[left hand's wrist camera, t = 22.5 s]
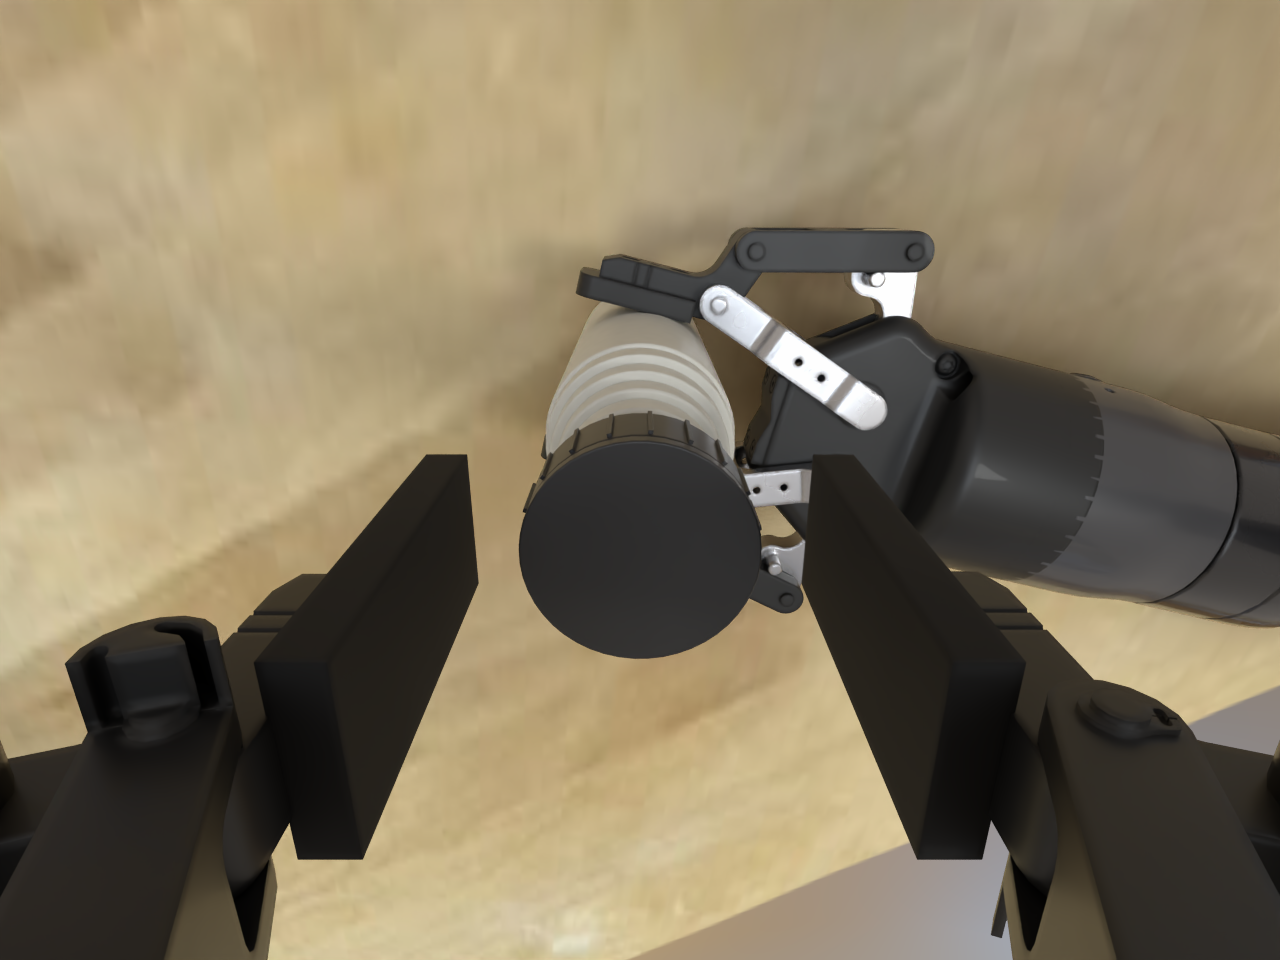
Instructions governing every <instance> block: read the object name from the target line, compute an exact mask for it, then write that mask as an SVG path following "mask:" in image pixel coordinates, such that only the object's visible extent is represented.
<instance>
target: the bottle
mask: <svg viewBox="0 0 1280 960" xmlns="http://www.w3.org/2000/svg"><path fill="white" fill-rule="evenodd" d="M648 411H652V414H659V415H664V416H668V417H672V418H676V419H679V420H681V421H685V419H686V420H689V421H690V424H691V425H693V426H695V427H696V428H698V429H700V430H702V431H703V432H705V433H706V434H708V435H709V436H710V437H712V438H713V439H714V440H715V441H716V440H717V439H719V440H720V441H721V444H722V447H723V449H724V450H725V451H726V452H727V453H728V455H729V456H730V457H731V459H732V460H733V459H734V450H735V424H734V418H733V413H732V409H731V406H730V403H729V400H728V398H727V396H726V393H725V391H724V389H723V386H722V384H721V382H720V380H719V377H718V375H717V373H716V370H715V368H714V366H713V364H712V361H711V359H710V357H709V354H708V352H707V350H706V348H705V345H704V343H703V341H702V338H701V336H700V334H699V332H698V329H697V327H696V325H695V323H694V320H693V318H692V319H691V323H690V324H689V323H685V322H681V321H677V320H673V319H669V318H666V317H663V316H660V315H655V314H650V313H645V312H641V311H637V310H633V309H629V308H626V307H622V306H618V305H614V304H610V303H606V302H602V301H601V302H600V303H599V304H598V305H597V306H596V307H595V308H594V310H593V311H592V312H591V314H590V316H589V317H588V319H587V322H586V324H585V326H584V328H583V331H582V333H581V335H580V338H579V340H578V342H577V344H576V347H575V349H574V351H573V354H572V356H571V358H570V360H569V363H568V365H567V367H566V370H565V372H564V374H563V377H562V379H561V381H560V383H559V386H558V388H557V390H556V393H555V395H554V397H553V399H552V402H551V405H550V408H549V412H548V415H547V422H546V454H547V456H548V454H549V453H550V452H551V453H552V454H553V453H554V452H555V450H556V449H557V448H558V447H559V446H560V445H561V444H562V443H563V442H564V441H565V440H567V439H568V438H569V437H570V436H572V435H573V434H574V430H575V429H577V428H579V430H581V429H582V428H584V427H586V426H588V425H589V424H592V423H594V422H597V421H599V420H602V419H605V418H608V417H609V414H614V416H616V415H622V414H630V413H648Z"/></svg>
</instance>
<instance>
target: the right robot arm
mask: <svg viewBox="0 0 1280 960" xmlns="http://www.w3.org/2000/svg"><path fill="white" fill-rule="evenodd" d="M934 251H935V250H934V243H933V241H932V239H931V238H930V236H929V235H927V234H926V233H924V232H920V231H912V230H903V229H895V228H741V229H739V230H737V231H736V232H734V233H733V234H732V236H731V237H730V239H729V242H728V245H727V246H726V248H725V249H724V251H723V252H722V254H721V255H720V257H719V258H718V259H717V261H716V262H715V264H714V265H713V266H712V267H710V268H709V269H707V270H705V271H703V272H698V273H693V272H688V271H684V270H681V269H677V268H673V267H669V266H665V265H661V264H657V263H654V262H649V261H646V260H642V259H638V258H634V257H630V256H627V255H623V254H618V255H611V256H605V257H604V258H603V260H602V265H601V269H600V270H597V269H593V268H587V267H583V268H582V270H581V271H580V275H579V280H578V285H577V289H576V294H578V295H580V296H583V297H586V298H590V299H594V300H598V301H602V302H606V303H610V304H614V305H618V306H622V307H626V308H629V309H633V310H637V311H641V312H645V313H650V314H655V315H660V316H663V317H666V318H669V319H673V320H677V321H681V322H685V323H689V324H690V323H691V319H692V317H696V318H700V319H704V320H707V321H708V322H709V323H711V324H712V325H713V326H715V327H716V328H718V329H719V330H721V331H722V332H724V333H725V334H726V335H728V336H729V337H731V338H732V339H734V340H735V341H736V342H738V343H739V344H741V345H742V346H744V347H745V348H746V349H748V350H749V351H751V352H752V353H753V354H754V355H755V356H757V357H758V358H759V359H760V360H762V361H763V362H764V363H766V364H767V365H768V366H767V369H766V372H765V376H764V379H763V382H762V399H761V406H760V408H759V410H758V411H757V413H756V415H755V416H754V418H753V419H752V421H751V423H750V424H749V427H748V430H747V433H746V436H745V439H744V441H742V442H735V450H734V459H733V461H734V463H735V465H736V467H737V468H739V467H741V469H742V471H743V474H744V476H745V479H746V482H747V484H748V487H749V490H750V493H751V495H749V498H750V500H752V503H753V506H754V507H762V506H772V505H775V506H776V508H777V509H778V510H779V511H780V512H781V514H782V515H783V516H784V517H785V518H786V519H787V521H788V522H789V523H790V524H791V525H792V527H793V528H794V529H795V530H796V532H795V533H793V534H792V535H790V536H787V537H776V536H773V535H764V536H761V543H762V555H761V565H760V570H759V575H758V578H757V581H756V584H755V586H754V589H753V591H752V593H751V595H750V597H749V598H750V599H752V600H754V601H756V602H758V603H760V604H762V605H765V606H767V607H769V608H771V609H773V610H775V611H777V612H780V613H791V612H794V611H796V610H797V609H798V608H799V607H800V606H801V605H802V603H803V593H802V591H801V588H800V585H801V583H802V572H803V560H804V549H805V538H806V527H807V516H808V505H809V494H810V482H811V471H812V460H813V455H854V456H855V457H856V458H857V459H858V460H859V462H860V463H861V464H862V465H863V466H864V468H865V469H866V470H867V471H868V472H869V474H870V475H871V476H872V477H873V479H874V480H875V481H876V482H877V483H878V485H879V486H880V487H881V488H882V489H883V491H884V492H885V493H886V494H887V495H888V497H889V498H890V499H891V500H892V501H893V503H894V504H895V505H896V506H897V507H898V509H899V510H900V511H901V512H902V513H903V515H904V516H905V517H906V518H907V519H908V521H909V522H910V523H911V524H912V525H913V527H914V528H915V529H916V530H917V531H918V533H919V534H920V535H921V536H922V537H923V539H924V540H925V541H926V542H927V543H928V545H929V546H930V547H931V548H932V549H933V551H934V552H935V553H936V554H937V555H938V557H939V558H940V559H941V560H942V561H943V563H944V564H945V565H946V566H947V567H948V568H953V569H957V570H961V571H966V572H980V573H982V574H983V575H985V576H988V577H992V578H996V579H1001V580H1005V581H1009V582H1014V583H1018V584H1023V585H1027V586H1031V587H1036V588H1040V589H1045V590H1049V591H1053V592H1058V593H1063V594H1069V595H1074V596H1080V597H1090V598H1104V599H1115V600H1123V601H1129V602H1134V603H1137V604H1141V605H1146V606H1150V607H1154V608H1159V609H1163V610H1168V611H1172V612H1176V613H1181V614H1185V615H1189V616H1194V617H1197V618H1202V619H1206V620H1210V621H1215V622H1219V623H1224V624H1229V625H1234V626H1241V627H1250V628H1275V627H1280V435H1276V434H1272V433H1267V432H1262V431H1258V430H1253V429H1250V428H1246V427H1242V426H1238V425H1234V424H1230V423H1226V422H1222V421H1218V420H1214V419H1211V418H1207V417H1203V416H1199V415H1196V414H1193V413H1190V412H1187V411H1184V410H1181V409H1178V408H1176V407H1173V406H1171V405H1169V404H1166V403H1164V402H1162V401H1160V400H1157V399H1155V398H1153V397H1150V396H1148V395H1145V394H1142V393H1139V392H1136V391H1133V390H1130V389H1126V388H1122V387H1118V386H1114V385H1111V384H1107V383H1103V382H1102V381H1101V380H1098V379H1096V378H1095V377H1092V376H1089V375H1084V374H1077V373H1070V374H1068V373H1064V372H1060V371H1057V370H1053V369H1049V368H1045V367H1041V366H1037V365H1033V364H1029V363H1025V362H1021V361H1017V360H1014V359H1010V358H1006V357H1002V356H998V355H994V354H990V353H987V352H983V351H979V350H975V349H971V348H967V347H963V346H959V345H956V344H952V343H948V342H944V341H940V340H937V339H935V338H933V337H932V336H931V335H929V334H928V333H927V332H926V330H925V329H924V328H923V327H922V326H921V325H920V324H919V323H918V322H916V321H915V320H913V319H911V317H912V309H913V302H914V295H915V287H916V280H917V272H919V271H921V270H923V269H925V268H926V267H927V266H928V265H929V264H930V262H931V261H932V259H933V256H934ZM762 272H799V273H844V280H845V283H846V285H847V287H848V288H849V289H850V290H851V291H853V292H855V293H858V294H860V295H862V296H867V297H869V298H871V300H872V301H873V303H874V306H875V313H874V314H871V315H869V316H866V317H864V318H861V319H858V320H856V321H853V322H851V323H848V324H846V325H843V326H841V327H838V328H835V329H833V330H830V331H828V332H825V333H823V334H820V335H818V336H815V337H812V338H810V339H807V340H806V339H804V338H803V337H802V336H800V335H799V334H797V333H796V332H795V331H793V330H792V329H790V328H789V327H788V326H786V325H785V324H783V323H782V322H781V321H779V320H778V319H776V318H775V317H774V316H772V315H771V314H769V313H768V312H766V311H765V310H763V309H762V308H760V307H759V306H758V305H756V304H755V303H753V302H752V301H751V300H749V299H748V298H746V297H745V296H746V294H747V293H748V292H749V290H750V289H751V287H752V286H753V285H754V283H755V282H756V280H757V279H758V278H759V276H760V275H761V273H762ZM541 456H542V457H543V458H544V459H547V454H546V435H545V438H544V443H543V448H542V453H541ZM743 458H746V459H744V460H742V459H743ZM755 487H757V488H755Z"/></svg>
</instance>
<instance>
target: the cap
mask: <svg viewBox="0 0 1280 960" xmlns="http://www.w3.org/2000/svg"><path fill="white" fill-rule="evenodd" d="M749 495H751V493H750V490H749V487H748V484H747V482H746V479H745V476H744V474H743V471H742V469H741V467H739V468H737V467H736V465H735V463H734V461H733V460H732V459H731V457H730V456H729V455H728V453H727V452H726V451H725V450H724V449H723V447H722V444H721V441H720V440H719V439H717V440H716V441H715V440H714V439H713V438H712V437H710V436H709V435H708V434H706V433H705V432H703V431H702V430H700V429H698V428H696V427H695V426H693V425H691V424H690V421H689V420H686V419H685V421H681V420H679V419H676V418H672V417H668V416H664V415H659V414H652V411H648V413H630V414H622V415H616V416H614V414H609V417H608V418H605V419H602V420H599V421H597V422H594V423H592V424H589V425H588V426H586V427H584V428H582V429H581V430H579V428H577V429H575V430H574V434H573V435H572V436H570V437H569V438H568V439H567V440H565V441H564V442H563V443H562V444H561V445H560V446H559V447H558V448H557V449H556V450H555V452H554V453H553V454H552V453H551V452H550V453H549V454H548V456H547V459H546V462H545V464H544V467H543V470H542V471H541V473H540V476H539V478H538V481H537V484H535V483H533V485H532V487H531V490H530V493H529V495H528V498H527V501H526V503H525V506H524V509H523V512H524V513H526V514H525V517H524V519H523V523H522V527H521V532H520V539H519V560H520V567H521V571H522V576H523V579H524V582H525V584H526V587H527V590H528V592H529V594H530V596H531V597H532V599H533V601H534V603H535V604H536V606H537V607H538V609H539V610H540V611H541V613H542V614H543V615H544V616H545V617H546V619H547V620H548V621H549V622H550V623H551V624H552V625H553V626H554V627H556V628H557V629H558V630H559V631H560V632H562V633H563V634H564V635H566V636H567V637H569V638H570V639H572V640H573V641H575V642H577V643H579V644H581V645H583V646H585V647H587V648H589V649H592V650H594V651H597V652H600V653H603V654H607V655H612V656H616V657H623V658H632V659H649V658H657V657H665V656H669V655H673V654H678V653H680V652H683V651H686V650H689V649H692V648H694V647H696V646H698V645H700V644H702V643H704V642H706V641H707V640H709V639H710V638H712V637H714V636H715V635H717V634H718V633H719V632H720V631H722V630H723V629H724V628H725V627H726V626H728V625H729V624H730V622H731V621H732V620H733V619H734V618H735V617H736V616H737V615H738V614H739V612H740V611H741V610H742V608H743V607H744V605H745V604H746V602H747V601H748V599H749V597H750V595H751V593H752V591H753V589H754V586H755V584H756V581H757V578H758V575H759V570H760V565H761V555H762V543H761V533H760V530H762V529H761V525H760V522H759V519H758V516H757V514H756V511H755V508H754V506H753V503H752V500H750V498H749Z"/></svg>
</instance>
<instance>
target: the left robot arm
mask: <svg viewBox="0 0 1280 960" xmlns="http://www.w3.org/2000/svg"><path fill="white" fill-rule="evenodd" d="M477 586H478V572H477V560H476V549H475V538H474V527H473V516H472V505H471V494H470V482H469V471H468V460H467V455H426V456H425V457H424V458H423V459H422V460H421V462H420V463H419V464H418V465H417V466H416V468H415V469H414V470H413V471H412V472H411V474H410V475H409V476H408V477H407V479H406V480H405V481H404V482H403V483H402V485H401V486H400V487H399V488H398V489H397V491H396V492H395V493H394V494H393V495H392V497H391V498H390V499H389V500H388V501H387V503H386V504H385V505H384V506H383V507H382V509H381V510H380V511H379V512H378V513H377V515H376V516H375V517H374V518H373V519H372V521H371V522H370V523H369V524H368V525H367V527H366V528H365V529H364V530H363V531H362V533H361V534H360V535H359V536H358V537H357V539H356V540H355V541H354V542H353V543H352V545H351V546H350V547H349V548H348V549H347V551H346V552H345V553H344V554H343V555H342V557H341V558H340V559H339V560H338V561H337V563H336V564H335V565H334V566H333V567H332V569H331V570H330V571H329V572H328V573H327V574H301V575H300V576H298V577H296V578H294V579H293V580H291V581H289V582H288V583H286V584H284V585H282V586H281V587H279V588H277V589H275V590H274V591H272V592H271V593H270V594H269V595H268V596H267V598H266V599H265V600H264V601H263V602H262V603H261V604H260V605H259V606H258V607H257V608H256V609H255V610H254V614H253V615H250V616H249V617H248V618H247V619H246V620H245V621H244V622H243V623H242V624H241V625H240V626H239V628H238V632H237V633H233V634H232V635H231V636H230V637H229V638H228V639H227V640H226V641H225V642H224V644H223V645H222V646H221V645H220V640H219V636H218V632H217V628H216V626H214V625H213V624H211V623H210V622H208V621H207V620H206V619H202V618H196V617H190V616H175V617H160V618H156V619H151V620H147V621H142V622H138V623H134V624H130V625H128V626H125V627H122V628H120V629H117V630H115V631H112V632H109V633H107V634H104V635H102V636H101V637H99V638H97V639H95V640H94V641H92V642H90V643H89V644H87V645H85V646H84V647H82V648H80V649H79V650H78V651H77V652H76V653H75V654H74V655H73V656H72V657H71V658H70V659H69V660H68V661H67V662H66V663H65V666H66V669H67V672H68V675H69V678H70V681H71V684H72V687H73V690H74V693H75V696H76V699H77V702H78V705H79V708H80V711H81V714H82V716H83V719H84V722H85V725H86V728H87V731H88V733H87V735H86V737H85V739H84V741H83V742H82V744H79V745H75V746H70V747H65V748H60V749H55V750H50V751H45V752H40V753H35V754H30V755H25V756H20V757H15V758H10V759H7V757H6V754H5V751H4V749H3V746H2V744H1V741H0V960H267V959H268V951H269V944H270V937H271V929H272V922H273V915H274V907H275V900H276V893H277V881H276V873H275V868H274V864H273V860H272V856H271V855H272V853H273V851H274V849H275V848H276V846H277V844H278V842H279V840H280V839H281V837H282V835H283V833H284V831H285V830H286V828H287V826H288V824H289V823H290V827H291V831H292V836H293V840H294V845H295V849H296V854H297V858H298V860H363V858H364V855H365V853H366V851H367V848H368V846H369V843H370V841H371V839H372V836H373V834H374V832H375V829H376V827H377V824H378V822H379V820H380V817H381V815H382V812H383V810H384V808H385V805H386V803H387V801H388V798H389V796H390V793H391V791H392V789H393V786H394V784H395V781H396V779H397V777H398V774H399V772H400V769H401V767H402V765H403V762H404V760H405V758H406V755H407V753H408V750H409V748H410V746H411V743H412V741H413V738H414V736H415V734H416V731H417V729H418V727H419V724H420V722H421V719H422V717H423V715H424V712H425V710H426V707H427V705H428V703H429V700H430V698H431V696H432V693H433V691H434V688H435V686H436V684H437V681H438V679H439V676H440V674H441V672H442V669H443V667H444V665H445V662H446V660H447V657H448V655H449V653H450V650H451V648H452V645H453V643H454V641H455V638H456V636H457V633H458V631H459V629H460V626H461V624H462V622H463V619H464V617H465V614H466V612H467V610H468V607H469V605H470V602H471V600H472V598H473V595H474V593H475V591H476V588H477ZM802 586H803V588H804V591H805V593H806V595H807V598H808V600H809V602H810V605H811V607H812V610H813V612H814V614H815V617H816V619H817V622H818V624H819V626H820V629H821V631H822V633H823V636H824V638H825V641H826V643H827V645H828V648H829V650H830V653H831V655H832V657H833V660H834V662H835V665H836V667H837V669H838V672H839V674H840V676H841V679H842V681H843V684H844V686H845V688H846V691H847V693H848V696H849V698H850V700H851V703H852V705H853V707H854V710H855V712H856V715H857V717H858V719H859V722H860V724H861V727H862V729H863V731H864V734H865V736H866V738H867V741H868V743H869V746H870V748H871V750H872V753H873V755H874V758H875V760H876V762H877V765H878V767H879V769H880V772H881V774H882V777H883V779H884V781H885V784H886V786H887V789H888V791H889V793H890V796H891V798H892V801H893V803H894V805H895V808H896V810H897V812H898V815H899V817H900V820H901V822H902V824H903V827H904V829H905V832H906V834H907V836H908V839H909V841H910V843H911V846H912V848H913V851H914V853H915V855H916V858H917V859H918V860H981V859H982V858H983V854H984V849H985V845H986V840H987V836H988V831H989V827H990V822H991V820H992V822H993V824H994V826H995V828H996V829H997V831H998V833H999V835H1000V836H1001V838H1002V840H1003V842H1004V844H1005V845H1006V847H1007V849H1008V851H1009V856H1008V860H1007V864H1006V868H1005V872H1004V876H1003V881H1002V885H1001V889H1000V893H999V897H998V901H997V905H996V910H995V914H994V918H993V924H992V931H991V935H992V936H996V937H999V938H1002V935H1003V931H1004V927H1005V923H1006V921H1007V920H1008V927H1009V934H1010V942H1011V949H1012V957H1013V960H1280V741H1279V744H1278V746H1277V749H1276V751H1275V754H1274V756H1272V755H1267V754H1263V753H1257V752H1252V751H1248V750H1243V749H1237V748H1233V747H1227V746H1222V745H1218V744H1213V743H1207V742H1203V741H1199V740H1197V739H1196V737H1195V735H1194V734H1193V732H1192V730H1191V729H1190V728H1189V727H1188V726H1187V724H1186V723H1185V722H1184V721H1183V720H1182V718H1181V717H1180V716H1179V715H1178V714H1176V713H1175V712H1174V711H1172V710H1171V709H1169V708H1168V707H1166V706H1165V705H1163V704H1162V703H1161V702H1159V701H1158V700H1156V699H1154V698H1152V697H1149V696H1147V695H1145V694H1143V693H1141V692H1138V691H1136V690H1134V689H1132V688H1129V687H1125V686H1122V685H1118V684H1114V683H1110V682H1107V681H1102V680H1094V679H1093V678H1092V677H1091V676H1090V675H1089V674H1088V673H1087V672H1086V671H1085V670H1084V669H1083V668H1082V667H1081V666H1080V664H1079V663H1078V662H1077V661H1076V660H1075V659H1074V658H1073V657H1072V656H1071V655H1070V654H1069V653H1068V652H1067V651H1066V650H1065V649H1064V647H1063V646H1062V645H1061V644H1060V643H1059V642H1058V641H1057V640H1056V639H1055V638H1054V637H1053V636H1052V635H1051V634H1050V633H1049V632H1048V631H1047V630H1043V625H1042V624H1041V623H1040V622H1039V621H1038V620H1037V619H1036V618H1035V617H1034V616H1033V615H1032V614H1031V613H1027V608H1026V607H1025V606H1024V605H1023V604H1022V603H1021V602H1020V601H1019V600H1018V599H1017V598H1016V597H1015V595H1014V594H1013V593H1012V592H1011V591H1010V590H1009V589H1008V588H1006V587H1004V586H1003V585H1001V584H999V583H997V582H996V581H994V580H992V579H990V578H989V577H987V576H985V575H983V574H982V573H980V572H951V571H950V570H949V569H948V567H947V566H946V565H945V564H944V563H943V561H942V560H941V559H940V558H939V557H938V555H937V554H936V553H935V552H934V551H933V549H932V548H931V547H930V546H929V545H928V543H927V542H926V541H925V540H924V539H923V537H922V536H921V535H920V534H919V533H918V531H917V530H916V529H915V528H914V527H913V525H912V524H911V523H910V522H909V521H908V519H907V518H906V517H905V516H904V515H903V513H902V512H901V511H900V510H899V509H898V507H897V506H896V505H895V504H894V503H893V501H892V500H891V499H890V498H889V497H888V495H887V494H886V493H885V492H884V491H883V489H882V488H881V487H880V486H879V485H878V483H877V482H876V481H875V480H874V479H873V477H872V476H871V475H870V474H869V472H868V471H867V470H866V469H865V468H864V466H863V465H862V464H861V463H860V462H859V460H858V459H857V458H856V457H855V456H854V455H813V460H812V471H811V482H810V494H809V505H808V516H807V527H806V538H805V549H804V560H803V572H802Z"/></svg>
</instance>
